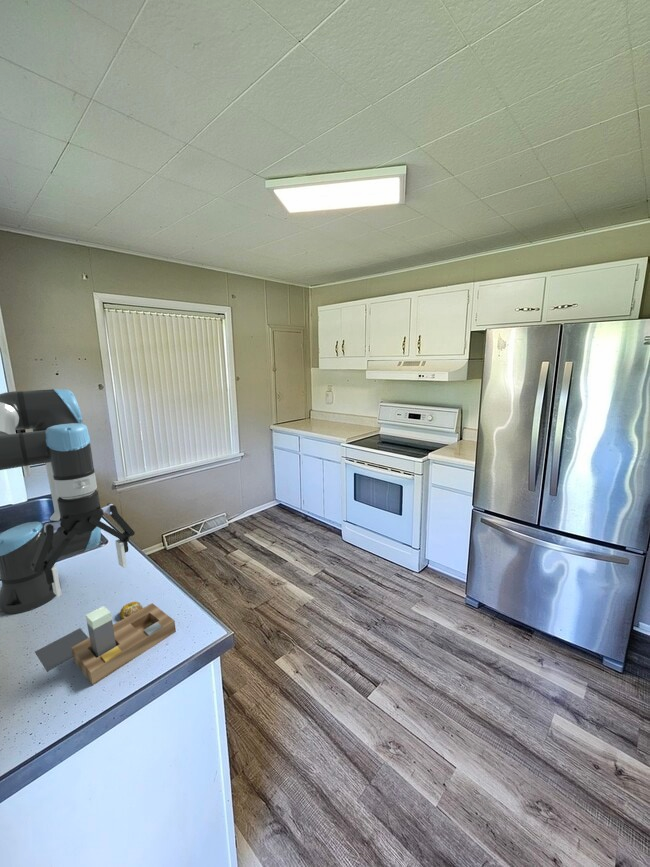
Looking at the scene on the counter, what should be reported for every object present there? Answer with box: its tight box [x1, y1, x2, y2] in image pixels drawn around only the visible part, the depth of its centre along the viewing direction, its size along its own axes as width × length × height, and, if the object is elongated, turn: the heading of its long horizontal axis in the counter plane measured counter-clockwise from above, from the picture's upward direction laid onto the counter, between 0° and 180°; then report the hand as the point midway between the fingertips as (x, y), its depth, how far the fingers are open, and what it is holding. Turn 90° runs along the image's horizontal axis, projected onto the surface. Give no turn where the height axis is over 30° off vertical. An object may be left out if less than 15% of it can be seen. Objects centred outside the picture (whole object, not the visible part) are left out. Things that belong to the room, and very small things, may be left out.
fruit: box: [119, 601, 144, 620], centre depth 102 cm, size 8×8×4 cm
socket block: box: [71, 603, 177, 686], centre depth 90 cm, size 12×20×4 cm, turn 142°
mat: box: [34, 627, 89, 672], centre depth 90 cm, size 10×10×1 cm
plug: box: [85, 605, 116, 658], centre depth 86 cm, size 4×4×12 cm
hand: (92, 578), depth 83 cm, fingers open, 13 cm apart
